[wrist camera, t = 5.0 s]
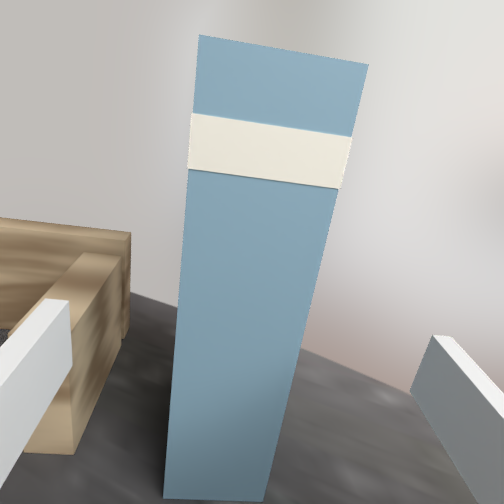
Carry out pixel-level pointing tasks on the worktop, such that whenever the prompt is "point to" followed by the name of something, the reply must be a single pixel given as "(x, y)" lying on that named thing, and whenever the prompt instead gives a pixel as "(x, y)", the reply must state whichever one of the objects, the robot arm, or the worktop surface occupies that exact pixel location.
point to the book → (251, 254)
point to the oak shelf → (81, 311)
